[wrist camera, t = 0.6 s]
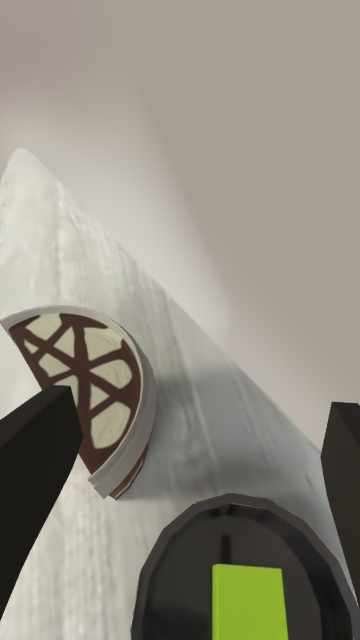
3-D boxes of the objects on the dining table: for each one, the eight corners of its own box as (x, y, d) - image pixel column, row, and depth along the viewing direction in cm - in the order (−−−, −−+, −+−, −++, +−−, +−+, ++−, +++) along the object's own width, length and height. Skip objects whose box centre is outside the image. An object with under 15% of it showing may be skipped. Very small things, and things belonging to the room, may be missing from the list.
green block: (272, 676, 17) (294, 703, 14) (211, 670, 18) (217, 695, 14) (265, 569, 20) (281, 568, 17) (212, 565, 20) (217, 563, 17)
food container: (198, 460, 25) (203, 406, 17) (127, 520, 22) (94, 491, 14) (111, 349, 31) (84, 270, 23) (49, 387, 28) (-6, 315, 20)
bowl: (388, 645, 18) (418, 656, 16) (231, 865, 14) (239, 923, 12) (244, 466, 24) (250, 455, 22) (102, 588, 20) (91, 590, 18)
